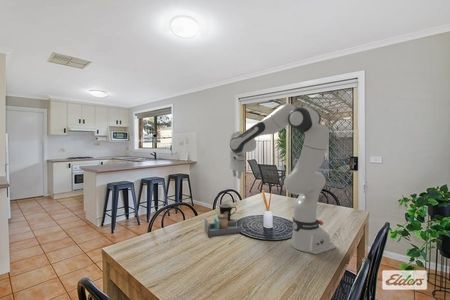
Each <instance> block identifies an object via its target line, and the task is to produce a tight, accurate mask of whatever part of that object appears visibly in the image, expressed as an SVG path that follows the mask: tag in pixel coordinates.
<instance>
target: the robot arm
mask: <svg viewBox="0 0 450 300" xmlns="http://www.w3.org/2000/svg"><path fill="white" fill-rule="evenodd" d="M321 121H322V116H321V114H320V112H319V111H318V110H316V109H313V108H310V107H301V106H300V107H295V105H293V104H292V103H284V104H282V105H280V106H279V107H277V108H276V109H274V110H273V111H272V112H271V113H269V114H268V115H266V117H264V118H263V119H261V120H260V121H258V122H256V123H255V124H254V125H252V126H251V127H248V128H247V130H245V131H244V132H243V131H234V132H231V134H230V141H229V146H230V147H229V148H230V151H229V153H230V154H229V155H230V156H229V157H230V170H232V175H233V177H237V179H239V180H241V179H242V174H243V173H245V169H246V159H247V157H246V156H245V153H250V152H254V150H256V148H257V140H256V138H257V137H260V136H266V135H275V134H277V133H279V132H281V131H282V130H284V129H285V128H286V127H287V126H290V127H291V128H293V129H295V131H296V130H297V131H298V132H299V133H302V134H304V139H303V144H302V148H301V151H300V154H299V155H300V156H299V159H298V160H297V161H296V164H295V166H294V167H293V169H292V170H291V172H290V173H289V174H288V175H287V176H285V178H284V180H283V181H284V182H283V185H284V186H283V187H284V189H285V190H286V192H287V193H289V194H292V195H298V196H297V198H296V199H295V201H294V203H293V217H292V229H293V230H292V236H291V240H290V246H291V247H292V248H294V249H295V250H298V251H301V252H304V253H305V252H306V253H309V254H314V255H318V254H322V253H324V252H328V251H330V250H333V249H336V245H335V243H334V242H332V240H331V237H330V234H329V233H328V232H327V230H324V229H323V228H322V227H321V226H323V225H324V221H322V220H319V219H317V208H318V206H317V205H318V202H319V199H320V194H321V192H322V190H323V189H324V187H325V186H326V183H327V182H326V177H325V175H324V174H323V173H322V172H320V171H318V169H319V168H321V166H322V165H323V163H324V160H325V156H326V152H327V149H328V145H329V139H330V129H329V128H328V127H327V126H326V125H324V124H320V123H321Z"/></svg>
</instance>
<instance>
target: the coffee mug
mask: <svg viewBox="0 0 450 300" xmlns="http://www.w3.org/2000/svg"><path fill="white" fill-rule="evenodd" d="M234 208H235V210H234V211H233V212H232V209H234ZM231 212H232V213H231ZM236 212H237V207H236V206H232V204H230V203H221V204H219V214H227V215H228V222H230V221H231V216H232V215H233V214H235V213H236Z"/></svg>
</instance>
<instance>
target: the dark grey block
mask: <svg viewBox="0 0 450 300" xmlns="http://www.w3.org/2000/svg"><path fill="white" fill-rule="evenodd" d="M241 229H242V227H241V226H237V223H236V220H233V221H232V220H229V221H228V228H225V229H216V230H215V227H214V222H211V223H209V221H208V219H207V218H205V219H204V230H205V232H206V234H207V237H212V236H213V237H214V236H221V235H230V234H241V232H242V230H241Z"/></svg>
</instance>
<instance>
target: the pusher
mask: <svg viewBox="0 0 450 300" xmlns="http://www.w3.org/2000/svg"><path fill="white" fill-rule="evenodd" d="M213 218H214V222H213V223H214V227H215V230H216V229H219V220H218V217H217V216H214V217H213Z"/></svg>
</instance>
